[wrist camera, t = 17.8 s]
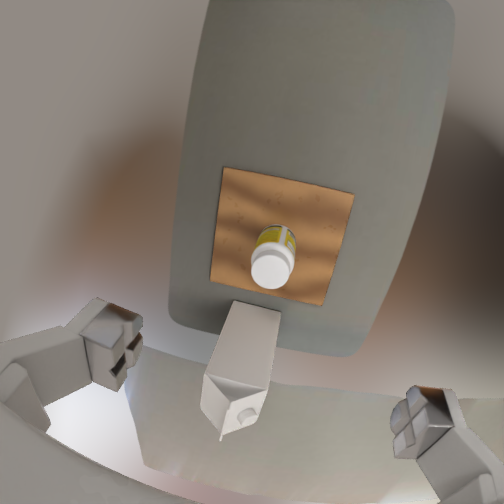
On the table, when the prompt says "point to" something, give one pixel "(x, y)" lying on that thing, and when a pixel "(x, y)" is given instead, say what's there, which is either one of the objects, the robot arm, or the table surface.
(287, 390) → the table surface
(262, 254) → the supplement bottle
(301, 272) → the wooden board
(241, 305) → the milk carton
